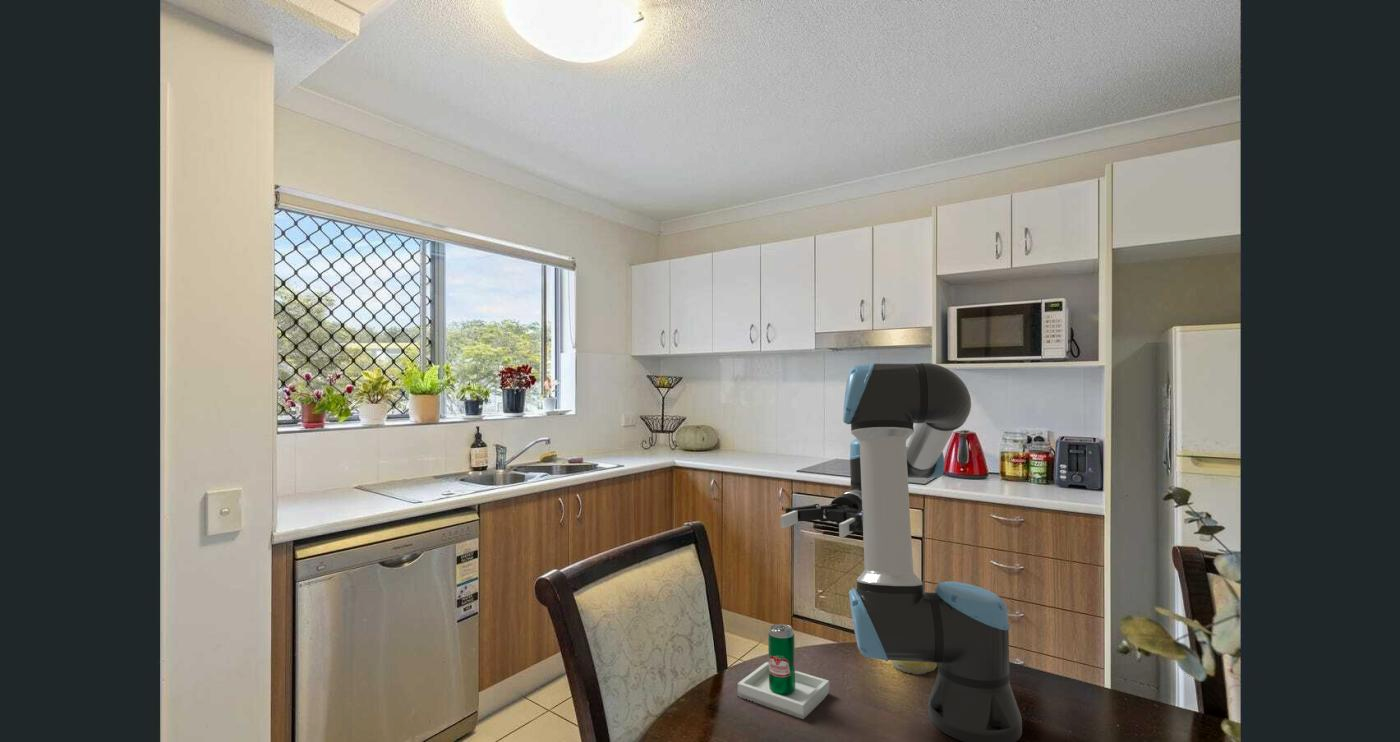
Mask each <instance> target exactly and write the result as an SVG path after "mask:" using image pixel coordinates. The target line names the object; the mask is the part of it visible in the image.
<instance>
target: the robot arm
mask: <svg viewBox="0 0 1400 742" xmlns="http://www.w3.org/2000/svg"><path fill="white" fill-rule="evenodd" d="M971 408H972V398H971V394H970V391H969V389H968V387H967V386H966V384H965V382H964V381H963V380H962V379H961V378H960V377H959V376H958V375H957V374H956V373H955V372H953V371H951V370H950V369H949V368H948V367H947V368H946V367H944V366H941V365H940V364H939V365H938V364H934V363H932V362H931V363H930V362H927V363H926V362H921V363H874V362H873V363H869V364H859V365H858V364H857V365H854V366H853V367H851V368H850V369H849V371H848V374H847V379H846V384H845V392H844V401H843V414H842V415H843V416H842V422H843V423H844V424H846V425H850V432H851V435H852V436H854V437H855V439H853V440H852V441H851V442H850V445H849V446H850V447H849V448H850V449H849V469H850V475H849V476H850V483H849V484H850V491H847V492H845V493H843V494H839V495H838V496H836V497H834V498H833V499H832V501H831V502H830V504H827V505H820V504H819V503H814V504H811V505H805V506H802V505H801V506H797V507H786V508H785V514H782V515H780V516H779V517H780V529H783V530H784V529H786V528H789V527H791V526H795V525H796V524H798V522H806V521H820V522H831V523H836V524H837V525H838V533H839V534H838V536H839V538H844V537H847V536H848V535H850V534H852V533H854V532H857V531H858V532H861V531H862V532H863V534H862V536H863V561H864V563H863V565H864V569H863V572H862V573H861V574H860V575H859V576H858V577H857V578H856V588H852V589H850V590H849V592H848V597H849V606H850V614H851V619H852V625H853V631H854V635H855V640H856V645H857V649H858V651H859V653H860V654H861V655H862V656H863V657H865V658H866V659H872V660H873V659H874V660H881V661H883V660H884V661H885V662H889V661H891V660H895V661H913V662H933V663H937V673H936V676H935V680H934V682H933V685H932V688H931V691H930V694H929V698H928V701H927V714H928V715H927V716H928V719H929V720H930V722H931V723H932V725H933V726H935V728H937V730H939V731H940V732H942V733H944V734H945V735H947V736H949V737H951V738H952V739H955V740H958V741H961V742H1017V741H1019V740H1020V738H1021V737H1022V735H1023V720H1022V715H1021V711H1020V709H1019V707H1018V704H1017V700H1016V697H1015V695H1014V692H1013V689H1012V686H1011V683H1010V682H1011V681H1010V680H1011V679H1010V645H1009V644H1010V643H1009V642H1010V639H1009V637H1010V636H1009V634H1010V633H1009V630H1010V624H1009V623H1010V622H1009V613H1008V608H1007V607H1008V606H1007V604H1006V602H1005V601H1004V600H1003V598H1001V597H1000V596H999V595H997V594H996V593H994V592H993V591H990V590H988V589H986V588H982V587H980V586H977V585H974V584H970V583H966V582H959V581H944V582H943V581H941V582H939V583H937V584H936V587H935V588H934V592H929V591H928V592H926V591H925V592H924V586H923V585H924V584H923V581H922V580H921V579H920V577H918V576H917V574H915V573H914V563H913V549H912V548H913V544H912V531H911V530H912V527H911V512H910V511H911V510H910V495H909V494H910V493H909V478H910V479H913V478H915V479H931V478H940V477H942V476H943V474H944V472H945V471H944V470H945V456H944V453H943V451H944V449H945V447H946V445H947V444H948V442H949V440H950V438H951V437H952V434H953V433H954V431H956V430H958V429H959V428H961V427H962V426H963V425H964V424H965V423H966V421H967V419H968V417H969V415H970V412H971ZM914 424H915V425H914ZM908 439H909V440H908ZM907 441H908V444H907Z"/></svg>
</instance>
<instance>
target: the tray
mask: <svg viewBox="0 0 1400 742" xmlns="http://www.w3.org/2000/svg"><path fill="white" fill-rule="evenodd" d="M828 694H829V695H830V680H828V679H825V678H821V677H818V676H815V675H812V674H808V673H805V672H802V671H799V670H795V690H794V692H793V693H792V694H790V695H785V696H782V695H778V694H775V693H773V692H772V691H771V690H770V688H769V661H766V662H764V663H763V664H762V665H760V666H758V667H757V668H756V669H755V670H754V671H752V672H751V673H750V674H748V675H747V676H746V677H744V678H743V679H741V680H740V681H739V682H738V683H737V697H738V696H739V697H738V698H742V699H744V700H746V699H747V701H749V700H750V701H749V702H752V701H753V702H752V703H756V704H759V705H761V706H765V707H766V708H770V709H773V710H774V711H775V710H776V711H777V712H778V711H779V712H780V713H783V714H787V715H789V716H791V717H792V716H793V717H795V718H798V719H800V720H804V719H805V718H806V717H807V716H808V715H810V713H812V711H814V710H815V708H817V707H818V705H820V703H822V701H824V700H825V697H826V696H827V695H828ZM829 695H828V696H829ZM828 696H827V697H828ZM827 697H826V698H827Z"/></svg>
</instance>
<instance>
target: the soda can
mask: <svg viewBox="0 0 1400 742" xmlns="http://www.w3.org/2000/svg"><path fill="white" fill-rule="evenodd" d="M767 636H768V637H767V643H768V649H767V650H768V662H769V688H770V690H771V691H772V692H773V693H775V694H778V695H782V696H785V695H790V694H792V693H793V692H794V690H795V671H796V650H795V648H796V646H795V645H796V643H795V640H796V638H795V632H794V631H793V626H791V625H788V624H784V623H775V624H772V625H770V627H769V631H768V633H767Z"/></svg>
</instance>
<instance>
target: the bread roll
mask: <svg viewBox="0 0 1400 742" xmlns="http://www.w3.org/2000/svg"><path fill="white" fill-rule="evenodd" d="M890 661H891V664H892V666H893V667H894V668H895V669H896V670H898V671H900V672H903V673H906V672H907V673H906V674H910V673H912V675H925V674H927V673H931V671H932V672H933V671H935V670H936V668H938V663H933V662H913V661H895V660H890Z"/></svg>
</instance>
